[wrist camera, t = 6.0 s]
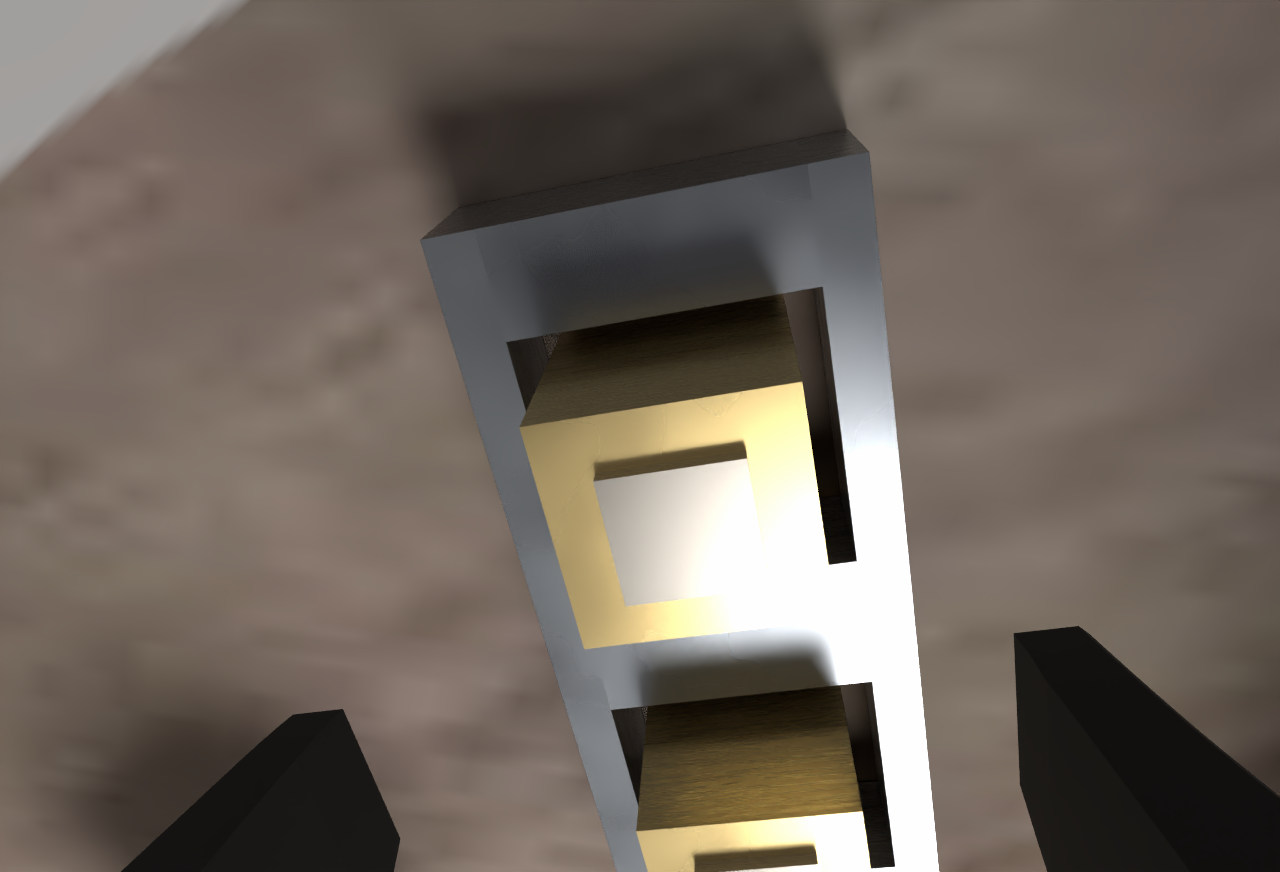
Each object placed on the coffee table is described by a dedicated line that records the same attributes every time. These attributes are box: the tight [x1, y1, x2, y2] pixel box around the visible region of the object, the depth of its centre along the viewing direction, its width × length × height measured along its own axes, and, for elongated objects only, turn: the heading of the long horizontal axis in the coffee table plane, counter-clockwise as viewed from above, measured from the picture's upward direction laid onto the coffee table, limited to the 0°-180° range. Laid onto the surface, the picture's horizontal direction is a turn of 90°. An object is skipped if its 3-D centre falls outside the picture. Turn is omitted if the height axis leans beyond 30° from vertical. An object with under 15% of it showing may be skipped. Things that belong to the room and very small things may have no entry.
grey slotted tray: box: [420, 129, 939, 872], centre depth 19 cm, size 17×7×2 cm, turn 12°
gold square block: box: [519, 294, 836, 649], centre depth 16 cm, size 4×4×5 cm
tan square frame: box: [636, 685, 871, 872], centre depth 19 cm, size 4×4×5 cm
